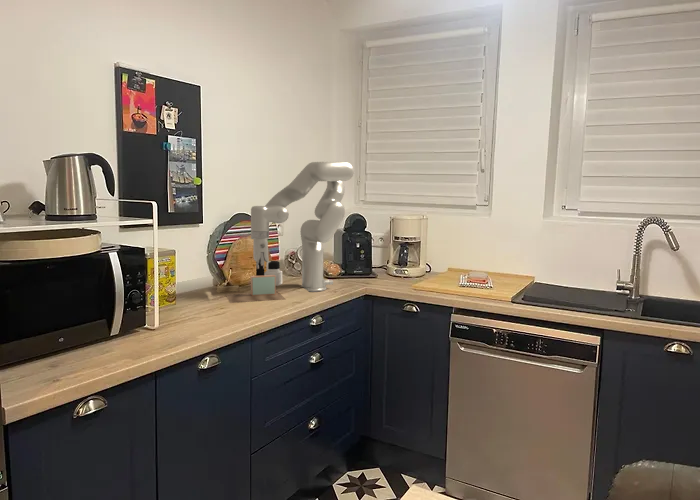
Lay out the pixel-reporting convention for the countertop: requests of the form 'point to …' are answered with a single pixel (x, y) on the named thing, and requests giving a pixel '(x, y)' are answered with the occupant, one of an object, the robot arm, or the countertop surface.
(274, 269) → the medicine bottle
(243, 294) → the board
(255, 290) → the tile
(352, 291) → the countertop surface
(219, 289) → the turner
